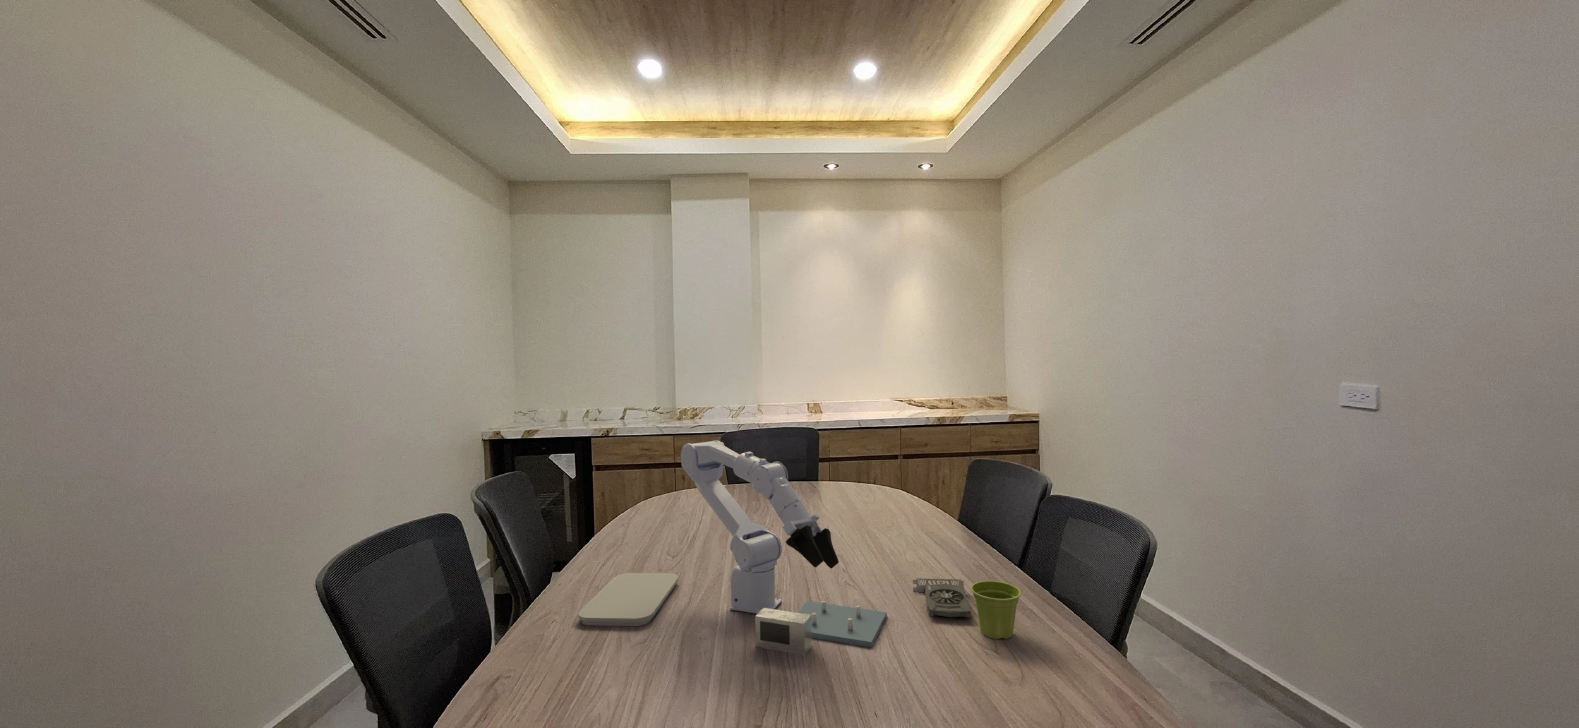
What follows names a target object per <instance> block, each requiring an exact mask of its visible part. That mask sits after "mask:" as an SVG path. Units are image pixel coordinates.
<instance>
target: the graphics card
mask: <svg viewBox="0 0 1579 728" xmlns="http://www.w3.org/2000/svg"><path fill="white" fill-rule="evenodd" d="M929 581H930V583H931V584H930V583H929ZM938 582H939V583H938ZM943 582H945V583H943ZM947 582H948V583H947ZM934 583H935V584H934ZM912 584H913V585H916V586H912V591H913V592H923V593H924V595H925V602H926V608H927V612H928V615H930V616H932V617H933V616H942V617H948V618H952V617H954V618H955V619H956V620H959V617H965V618H969V617H971V616H972V615H971V606H970V603H968V602H969V600H968V595H967V593H966V590H965V581H964V579H961V578H960V579H957V578H956V579H955V578H926V577H925V578H924V577H923V578H921V577H917V578H916V579H912Z"/></svg>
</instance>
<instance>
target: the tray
mask: <svg viewBox="0 0 1579 728" xmlns="http://www.w3.org/2000/svg"><path fill="white" fill-rule="evenodd" d="M796 613H802V614H809V615H811V627H812V638H813V639H820V640H823V641H824V640H825V641H830V642H838V643H845V644H850V645H857V646H862V647H868V648H872V647H873V646H874V643H875V642H876V639H877V638H878V635H879V634H880V631H881V629H882V628H883V626H884V623H885V621H886V619H887V616H888V612H887V611H881V610H880V611H879V610H874V609H866V608H861V605H856V606H855V607H853V606H845V605H838V604H830V603H827V601H826V600H822V601H820V602H816V601H809V600H807V601H805V603H804V604H803V605H802V606H801V607H800V608H799V610H798V611H797V612H796Z"/></svg>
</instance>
